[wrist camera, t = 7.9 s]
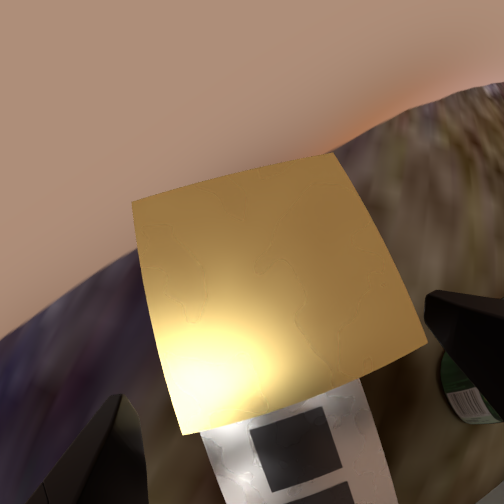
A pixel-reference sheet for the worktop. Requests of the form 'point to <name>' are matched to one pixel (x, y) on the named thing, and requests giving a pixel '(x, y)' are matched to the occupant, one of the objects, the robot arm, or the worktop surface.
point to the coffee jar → (465, 395)
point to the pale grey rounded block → (494, 496)
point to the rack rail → (304, 454)
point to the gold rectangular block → (268, 290)
